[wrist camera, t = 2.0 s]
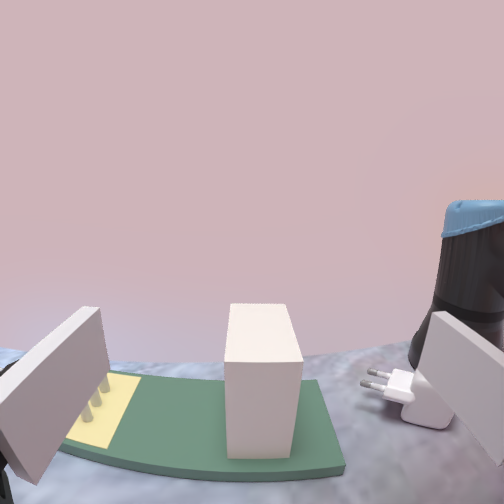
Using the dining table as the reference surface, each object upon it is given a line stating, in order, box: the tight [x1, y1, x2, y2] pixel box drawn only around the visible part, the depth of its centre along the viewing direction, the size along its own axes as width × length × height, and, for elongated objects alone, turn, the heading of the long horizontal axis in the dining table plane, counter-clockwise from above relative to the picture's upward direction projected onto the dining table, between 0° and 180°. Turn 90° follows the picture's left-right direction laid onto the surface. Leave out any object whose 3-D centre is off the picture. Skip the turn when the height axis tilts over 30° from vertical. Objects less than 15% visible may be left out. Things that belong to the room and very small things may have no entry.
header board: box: [58, 370, 346, 482], centre depth 25 cm, size 30×13×6 cm, turn 91°
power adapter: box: [360, 368, 454, 429], centre depth 26 cm, size 11×5×6 cm, turn 54°
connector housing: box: [224, 303, 304, 459], centre depth 24 cm, size 5×10×10 cm, turn 1°
